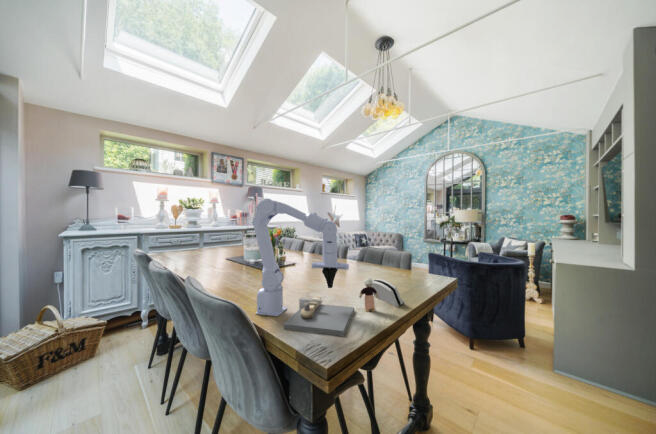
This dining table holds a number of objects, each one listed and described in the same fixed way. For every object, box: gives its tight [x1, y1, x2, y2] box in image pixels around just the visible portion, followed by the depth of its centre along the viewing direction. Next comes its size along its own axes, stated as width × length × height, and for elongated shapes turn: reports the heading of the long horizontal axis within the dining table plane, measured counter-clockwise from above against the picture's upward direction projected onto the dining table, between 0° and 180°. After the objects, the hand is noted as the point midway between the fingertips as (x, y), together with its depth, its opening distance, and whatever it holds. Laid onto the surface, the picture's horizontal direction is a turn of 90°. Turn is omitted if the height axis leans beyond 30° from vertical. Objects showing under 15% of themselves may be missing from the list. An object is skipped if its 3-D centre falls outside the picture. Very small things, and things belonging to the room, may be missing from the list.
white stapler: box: [371, 278, 406, 308], centre depth 101 cm, size 17×5×10 cm, turn 25°
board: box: [283, 303, 355, 337], centre depth 82 cm, size 20×20×2 cm
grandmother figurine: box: [358, 277, 379, 313], centre depth 90 cm, size 8×4×13 cm, turn 108°
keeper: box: [298, 297, 323, 311], centre depth 87 cm, size 8×2×4 cm, turn 74°
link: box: [301, 296, 322, 318], centre depth 86 cm, size 16×4×4 cm, turn 168°
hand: (330, 287), depth 89 cm, fingers closed
